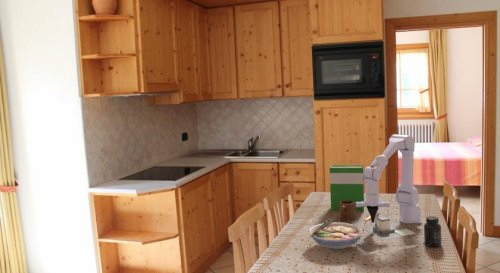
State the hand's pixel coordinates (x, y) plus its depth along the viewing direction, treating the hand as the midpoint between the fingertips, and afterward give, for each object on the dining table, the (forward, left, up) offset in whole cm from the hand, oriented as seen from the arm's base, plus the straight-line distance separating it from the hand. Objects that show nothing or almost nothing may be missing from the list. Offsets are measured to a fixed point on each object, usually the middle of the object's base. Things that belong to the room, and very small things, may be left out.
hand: (372, 222), depth 206 cm
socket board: (-8, 0, -6) cm, 10 cm away
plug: (-6, -1, -5) cm, 8 cm away
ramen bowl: (+22, +7, -6) cm, 24 cm away
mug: (+2, -23, -6) cm, 24 cm away
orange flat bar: (-2, -4, +1) cm, 4 cm away
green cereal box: (-9, -43, -6) cm, 45 cm away
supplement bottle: (-16, +21, -6) cm, 27 cm away
